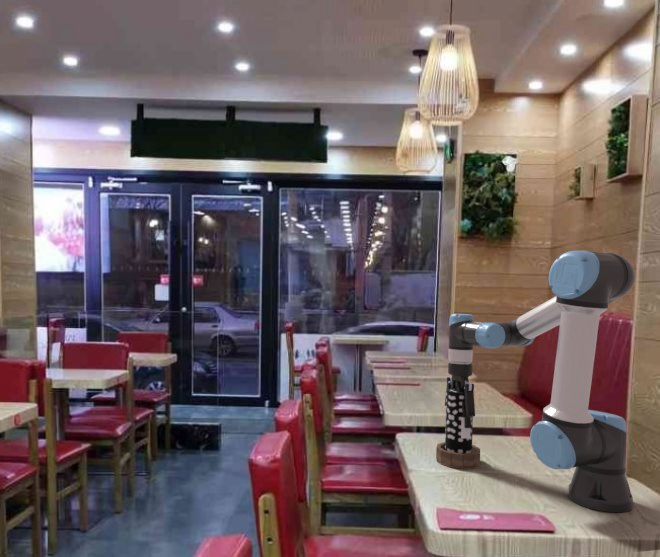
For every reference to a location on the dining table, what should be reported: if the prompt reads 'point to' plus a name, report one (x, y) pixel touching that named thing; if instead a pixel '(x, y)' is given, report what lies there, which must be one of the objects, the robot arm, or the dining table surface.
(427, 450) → the dining table surface
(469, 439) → the white-spotted black cylinder
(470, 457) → the holder
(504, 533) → the dining table surface
